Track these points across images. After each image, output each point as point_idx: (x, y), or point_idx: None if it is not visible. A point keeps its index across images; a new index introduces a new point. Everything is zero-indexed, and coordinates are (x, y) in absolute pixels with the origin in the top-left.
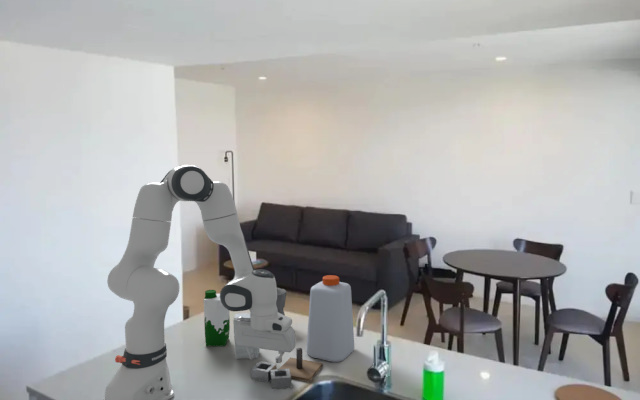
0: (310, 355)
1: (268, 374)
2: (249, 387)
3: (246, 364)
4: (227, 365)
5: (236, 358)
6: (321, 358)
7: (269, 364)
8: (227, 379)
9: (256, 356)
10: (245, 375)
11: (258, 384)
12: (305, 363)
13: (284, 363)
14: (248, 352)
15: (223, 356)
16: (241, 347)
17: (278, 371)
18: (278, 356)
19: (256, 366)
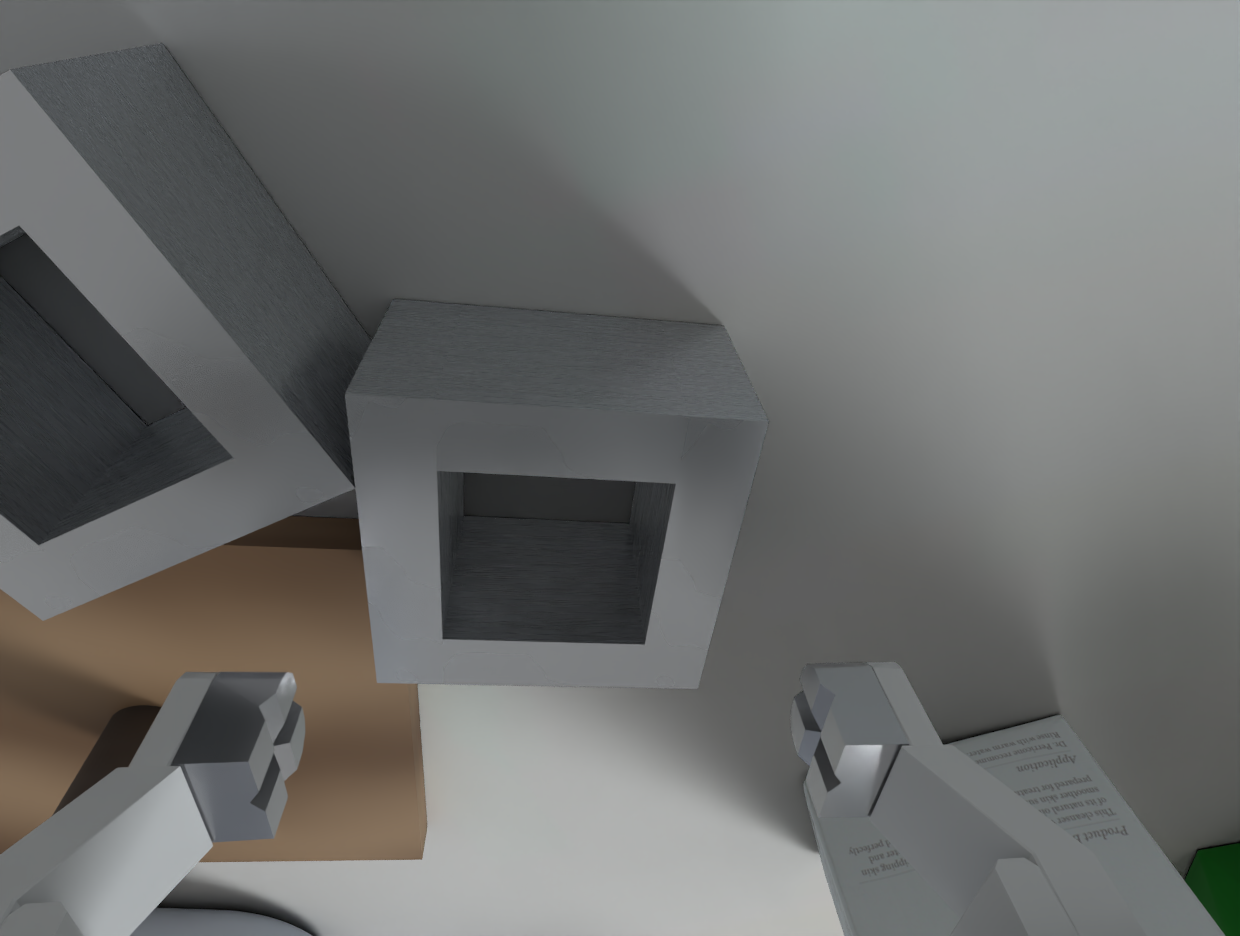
0: (242, 926)
1: (360, 378)
2: (657, 10)
3: (906, 651)
4: (1157, 575)
5: (1054, 718)
6: None
7: (486, 643)
8: (1145, 209)
9: None
10: (855, 411)
11: (531, 187)
12: None
13: (411, 759)
14: (977, 783)
15: (1210, 717)
16: None
17: (165, 484)
18: (233, 824)
19: (694, 530)
